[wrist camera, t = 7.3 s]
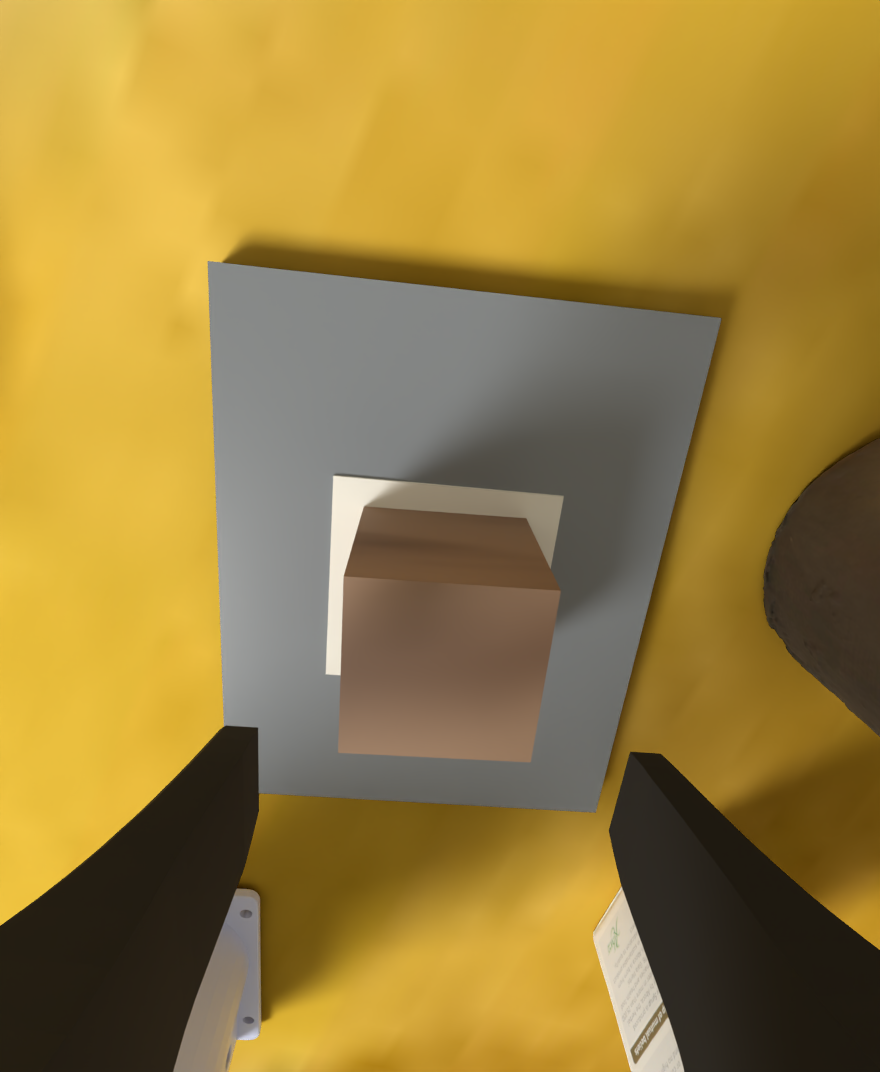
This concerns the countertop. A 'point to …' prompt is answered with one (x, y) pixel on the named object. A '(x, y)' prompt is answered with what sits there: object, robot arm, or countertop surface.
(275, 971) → the countertop surface
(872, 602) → the pillar candle
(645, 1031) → the syrup box
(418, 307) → the base plate
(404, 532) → the walnut block
